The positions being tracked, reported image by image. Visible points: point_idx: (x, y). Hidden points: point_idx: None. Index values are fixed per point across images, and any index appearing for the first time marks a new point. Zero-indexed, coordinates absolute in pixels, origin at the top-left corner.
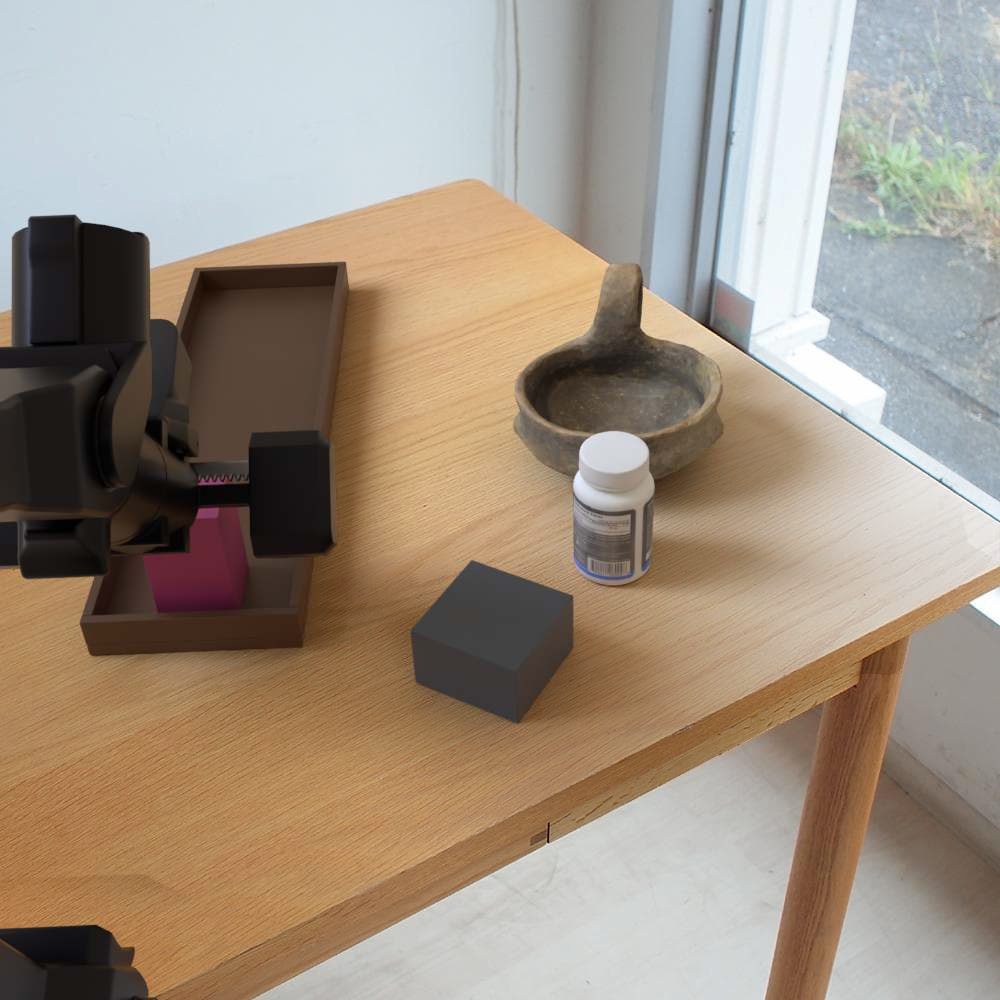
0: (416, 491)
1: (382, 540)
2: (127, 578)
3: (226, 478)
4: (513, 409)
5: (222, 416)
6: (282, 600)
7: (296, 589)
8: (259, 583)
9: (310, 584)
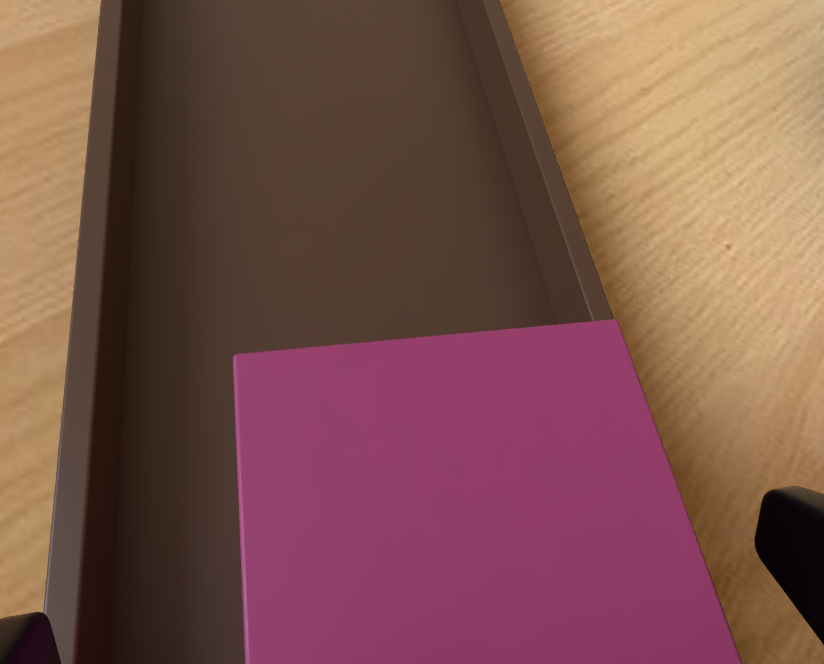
0: (695, 210)
1: (697, 342)
2: (149, 547)
3: (645, 398)
4: (751, 36)
5: (266, 17)
6: None
7: None
8: None
9: None
